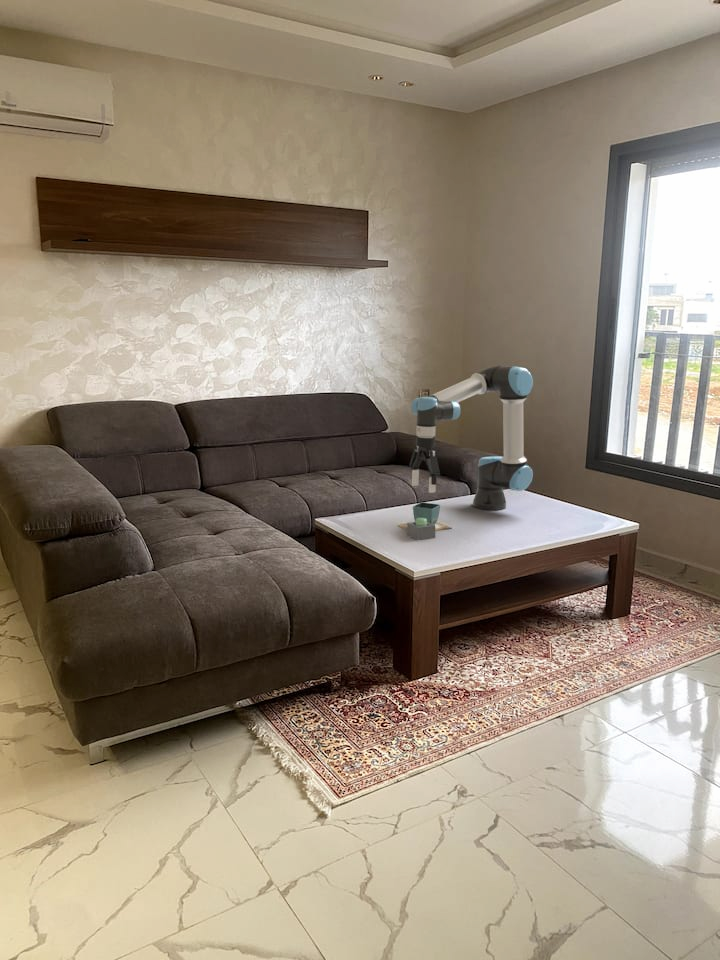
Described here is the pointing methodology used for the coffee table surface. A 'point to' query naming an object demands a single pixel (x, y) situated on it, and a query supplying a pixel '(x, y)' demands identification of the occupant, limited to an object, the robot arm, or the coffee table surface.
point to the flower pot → (427, 512)
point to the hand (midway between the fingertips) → (423, 488)
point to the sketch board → (438, 526)
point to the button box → (420, 531)
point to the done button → (421, 521)
